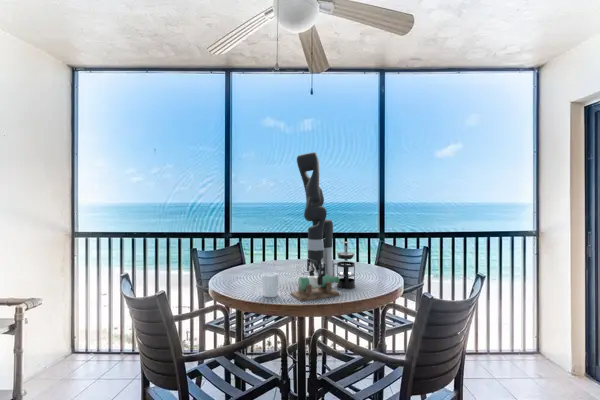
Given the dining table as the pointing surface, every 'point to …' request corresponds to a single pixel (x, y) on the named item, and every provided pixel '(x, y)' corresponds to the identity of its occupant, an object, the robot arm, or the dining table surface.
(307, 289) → the bottle rest
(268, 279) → the white cup
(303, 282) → the green bottle
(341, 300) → the dining table surface
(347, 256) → the french press
